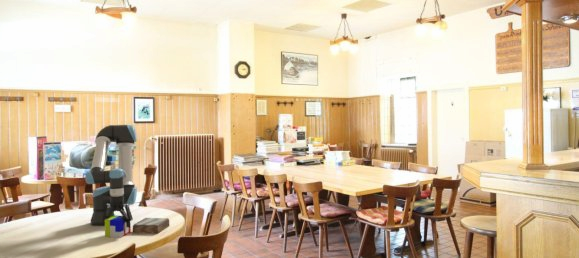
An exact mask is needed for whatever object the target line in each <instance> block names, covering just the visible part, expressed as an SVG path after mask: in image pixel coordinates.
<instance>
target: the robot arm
mask: <svg viewBox="0 0 579 258" xmlns="http://www.w3.org/2000/svg"><path fill="white" fill-rule="evenodd" d="M137 141H138V137H137V131H136V127H135V125H133V124H110V125H106V126H104V127H103V128H102V129H101V130H99V131H98V133H97V134H96V137H95V139H94V144H95V147H94V148H95V149H94V153H93V158H92V163H91V167H90V168H91V169H90V170H89V171H87V172H85V177H84V179H85V183H86V184H88V185H95V184H97V185H98V184H109V185H106V186H101V187H98V188H95V189H93V190H92V209H93V210H92V215H91V218H90V225H92V226H105V219H108V218H111V217H113V216H115V215H116V214H115V212H119V213H120V214H121V216H123V217H124V219H125V221H126V222H125V233H128V232H129V227H130V225H131V221H133V219H134V218H133V215H132V212H131V208H130V206H131V205H132V206H133V205H134V204H136V201H137V200H136V199H137V195H138V187H136V186H135V183H134V182H133V147H134V146H135V143H136V142H137ZM111 143H115V145H116V146H117V149H118V150H117V151H118V156H117V157H118V163H117V167H118V168H110V169H109V170H106V169H105V168H106V165H107V164H106V163H107V158H108V151H109V146H110V145H111Z"/></svg>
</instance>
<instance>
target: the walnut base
mask: <svg viewBox="0 0 579 258" xmlns="http://www.w3.org/2000/svg"><path fill="white" fill-rule="evenodd" d="M169 227H170V219H169V218H168V217H167V218H166V217H165V218H164V217H163V218H162V217H144V218H143V219H141V220H139V221H137V222H136V223H134V224H133V225H132V234H160V233H161V232H163V231H164V230H166V229H167V228H169Z"/></svg>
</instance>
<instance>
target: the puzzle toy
mask: <svg viewBox="0 0 579 258" xmlns="http://www.w3.org/2000/svg"><path fill="white" fill-rule="evenodd" d="M125 222H126V221H125V219H124V217H123V216H122V215H116V214H115V216H113V217H111V218H108V219H105V225H104V237H105V238H116V239H118V238H120V239H121V238H124V237H125V236H126V235H129V234H130V233H132V229H131V224H130V227H129V232H128V233H125Z"/></svg>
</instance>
